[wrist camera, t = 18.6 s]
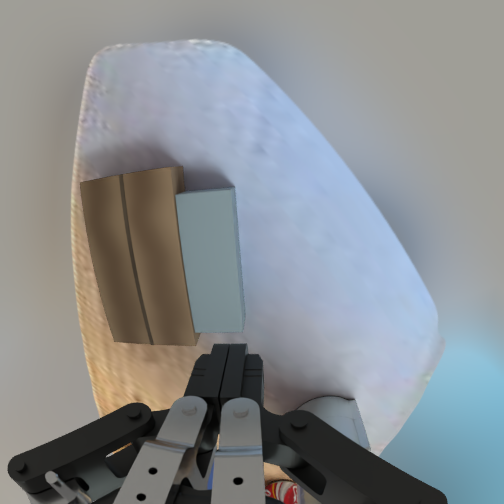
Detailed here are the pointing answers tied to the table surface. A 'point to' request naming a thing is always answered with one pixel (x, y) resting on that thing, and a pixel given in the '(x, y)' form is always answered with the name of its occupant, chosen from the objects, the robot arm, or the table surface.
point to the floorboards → (140, 255)
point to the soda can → (283, 491)
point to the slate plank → (212, 259)
